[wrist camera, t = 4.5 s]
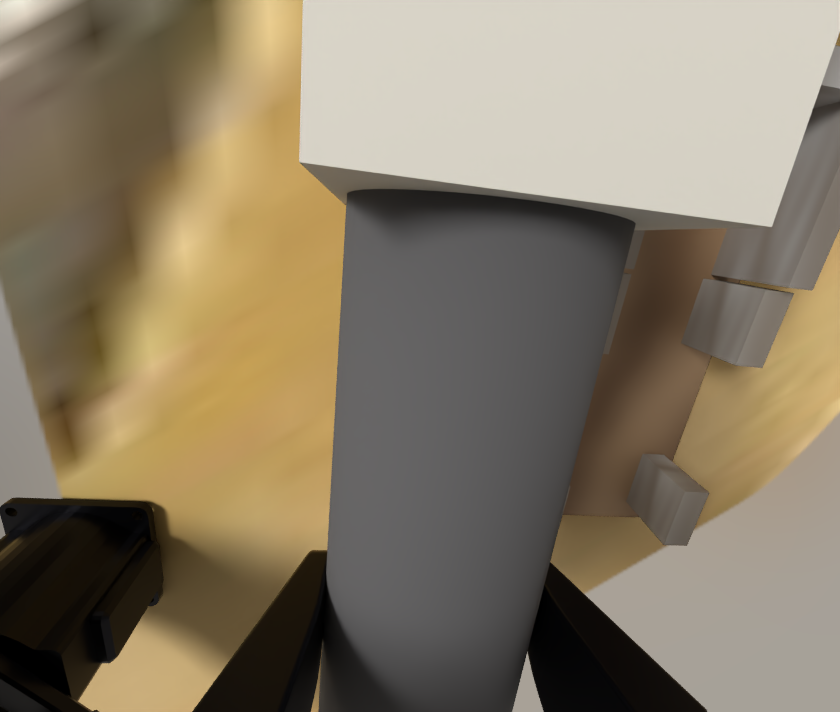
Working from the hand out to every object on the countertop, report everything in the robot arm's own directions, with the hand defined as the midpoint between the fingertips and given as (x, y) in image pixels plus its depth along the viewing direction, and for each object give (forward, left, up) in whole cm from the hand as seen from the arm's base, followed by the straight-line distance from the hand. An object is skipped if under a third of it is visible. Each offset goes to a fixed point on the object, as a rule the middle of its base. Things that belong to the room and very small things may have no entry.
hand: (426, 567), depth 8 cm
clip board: (+10, +4, -11) cm, 15 cm away
